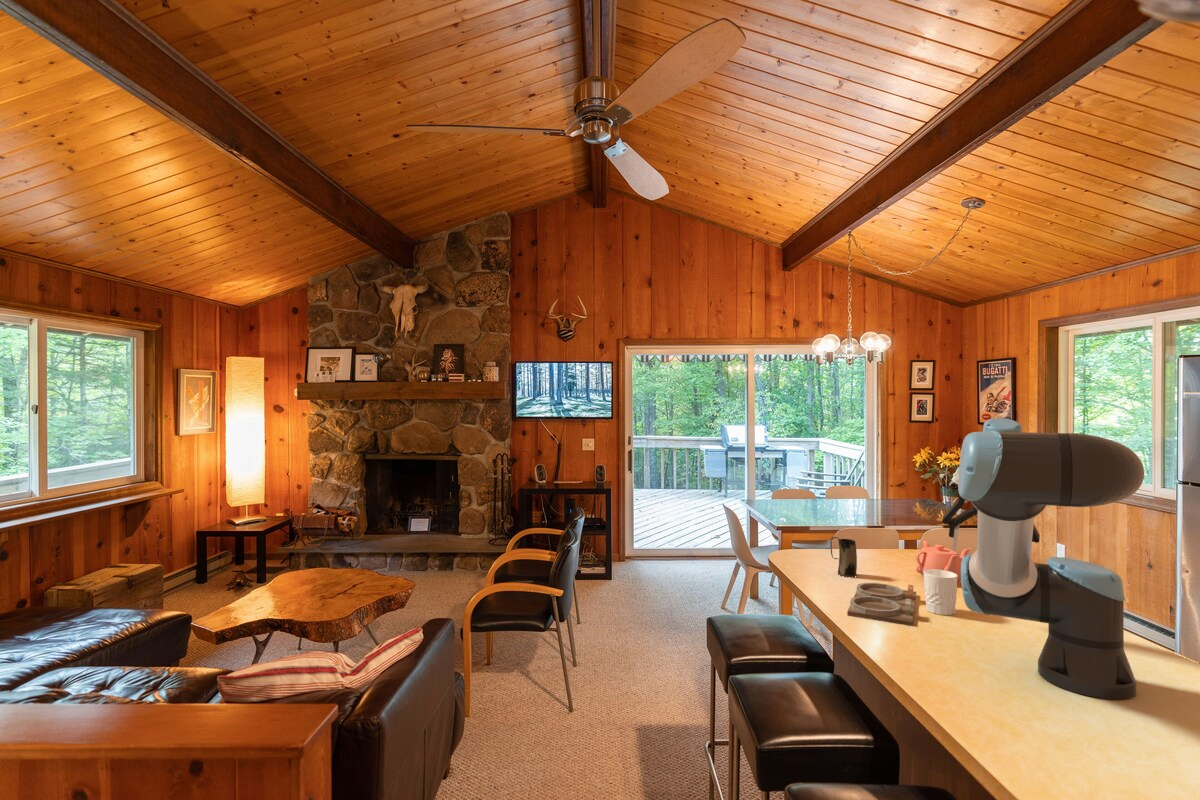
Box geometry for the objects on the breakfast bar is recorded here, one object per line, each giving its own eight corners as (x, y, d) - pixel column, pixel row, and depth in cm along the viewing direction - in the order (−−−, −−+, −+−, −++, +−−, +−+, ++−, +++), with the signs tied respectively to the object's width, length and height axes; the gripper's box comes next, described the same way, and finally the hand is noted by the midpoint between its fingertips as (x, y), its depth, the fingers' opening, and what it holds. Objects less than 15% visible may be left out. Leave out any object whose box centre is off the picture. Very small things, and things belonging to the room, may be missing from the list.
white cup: (964, 614, 157) (964, 575, 157) (943, 618, 154) (942, 579, 154) (937, 604, 164) (937, 568, 164) (916, 608, 161) (916, 571, 161)
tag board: (912, 625, 149) (912, 609, 149) (847, 615, 156) (847, 599, 156) (916, 595, 172) (916, 581, 172) (859, 587, 180) (859, 574, 180)
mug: (853, 572, 195) (853, 535, 195) (859, 577, 189) (859, 539, 189) (828, 572, 196) (828, 535, 196) (833, 577, 190) (832, 539, 190)
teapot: (922, 571, 197) (922, 537, 197) (972, 580, 186) (972, 545, 186) (906, 580, 187) (906, 544, 187) (957, 590, 176) (957, 553, 176)
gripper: (1060, 483, 139) (1047, 559, 147) (938, 464, 154) (932, 534, 161) (1060, 499, 134) (1046, 577, 142) (934, 478, 148) (927, 549, 156)
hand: (985, 554), depth 152 cm, fingers open, 13 cm apart
